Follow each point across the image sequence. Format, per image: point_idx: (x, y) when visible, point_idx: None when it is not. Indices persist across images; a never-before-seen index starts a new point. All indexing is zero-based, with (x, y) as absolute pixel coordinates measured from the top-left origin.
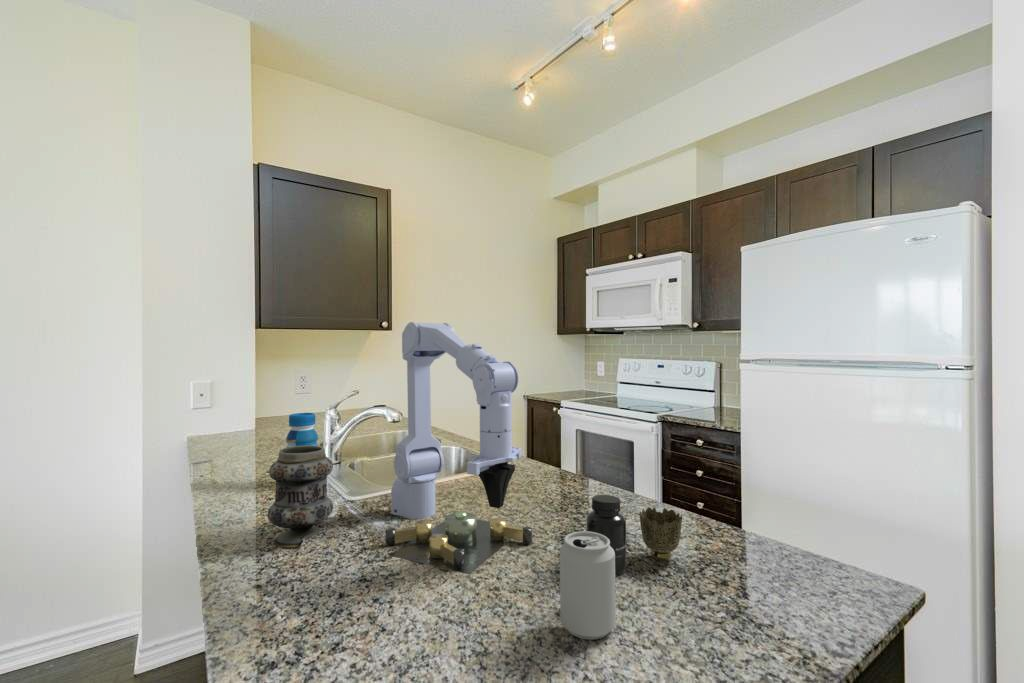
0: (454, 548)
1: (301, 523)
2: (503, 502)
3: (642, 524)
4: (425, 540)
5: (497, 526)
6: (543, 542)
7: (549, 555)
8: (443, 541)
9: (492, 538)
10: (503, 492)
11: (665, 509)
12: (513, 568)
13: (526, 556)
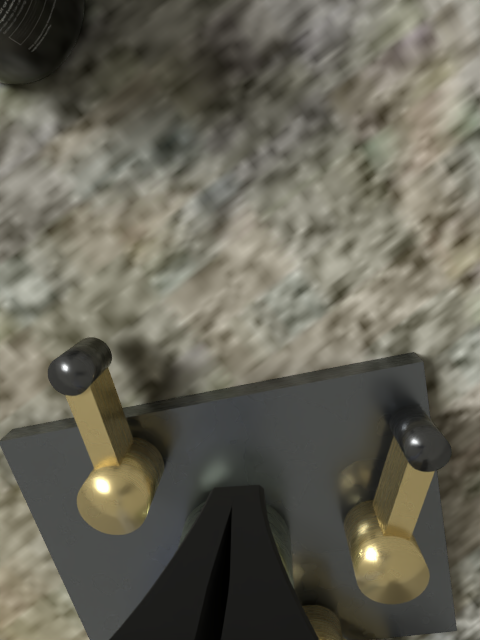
0: (407, 484)
1: None
2: (210, 501)
3: None
4: (328, 613)
5: (141, 482)
6: (17, 335)
7: (83, 254)
8: (400, 545)
9: (163, 467)
10: (216, 559)
11: None
12: (250, 296)
13: (147, 316)
